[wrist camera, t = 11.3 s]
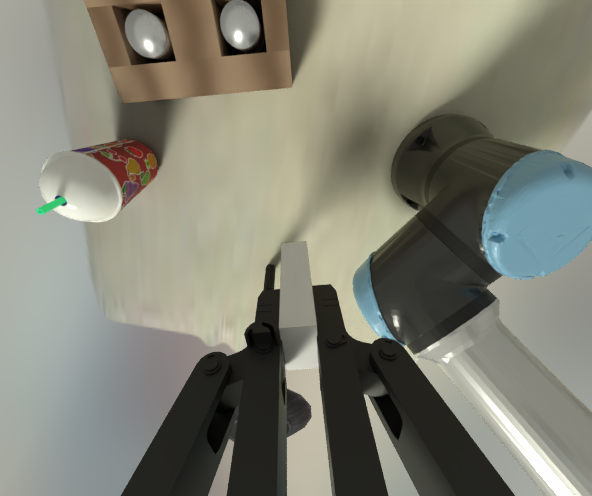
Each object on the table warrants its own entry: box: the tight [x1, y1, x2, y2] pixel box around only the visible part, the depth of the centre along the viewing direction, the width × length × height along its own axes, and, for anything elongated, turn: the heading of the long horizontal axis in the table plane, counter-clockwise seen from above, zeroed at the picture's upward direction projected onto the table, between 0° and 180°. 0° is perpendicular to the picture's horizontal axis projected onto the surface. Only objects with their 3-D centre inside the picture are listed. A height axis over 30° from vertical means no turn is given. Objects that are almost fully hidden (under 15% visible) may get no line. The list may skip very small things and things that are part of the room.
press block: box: [84, 0, 292, 103], centre depth 31 cm, size 20×12×8 cm, turn 95°
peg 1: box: [125, 9, 176, 62], centre depth 31 cm, size 4×4×8 cm
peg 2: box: [220, 0, 264, 54], centre depth 31 cm, size 4×4×8 cm
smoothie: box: [36, 139, 158, 222], centre depth 34 cm, size 8×8×20 cm
